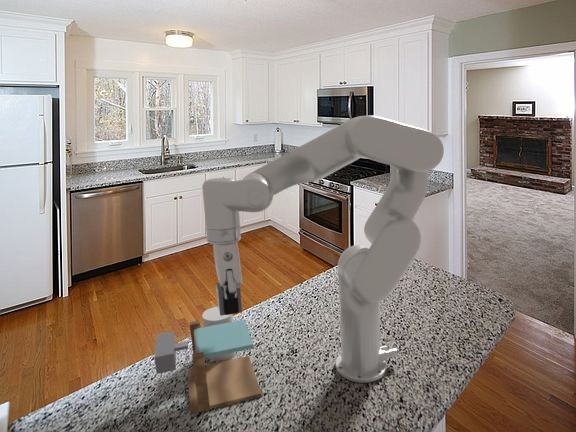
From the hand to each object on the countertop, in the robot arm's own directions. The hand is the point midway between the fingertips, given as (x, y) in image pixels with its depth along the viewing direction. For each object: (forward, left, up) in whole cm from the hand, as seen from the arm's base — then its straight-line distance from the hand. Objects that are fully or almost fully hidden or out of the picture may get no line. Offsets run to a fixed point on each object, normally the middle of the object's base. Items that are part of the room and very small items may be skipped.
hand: (229, 307), depth 88 cm
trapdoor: (+7, 0, -10) cm, 12 cm away
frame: (+3, 0, -20) cm, 20 cm away
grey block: (0, 0, 0) cm, 0 cm away
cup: (+2, -13, -20) cm, 24 cm away
